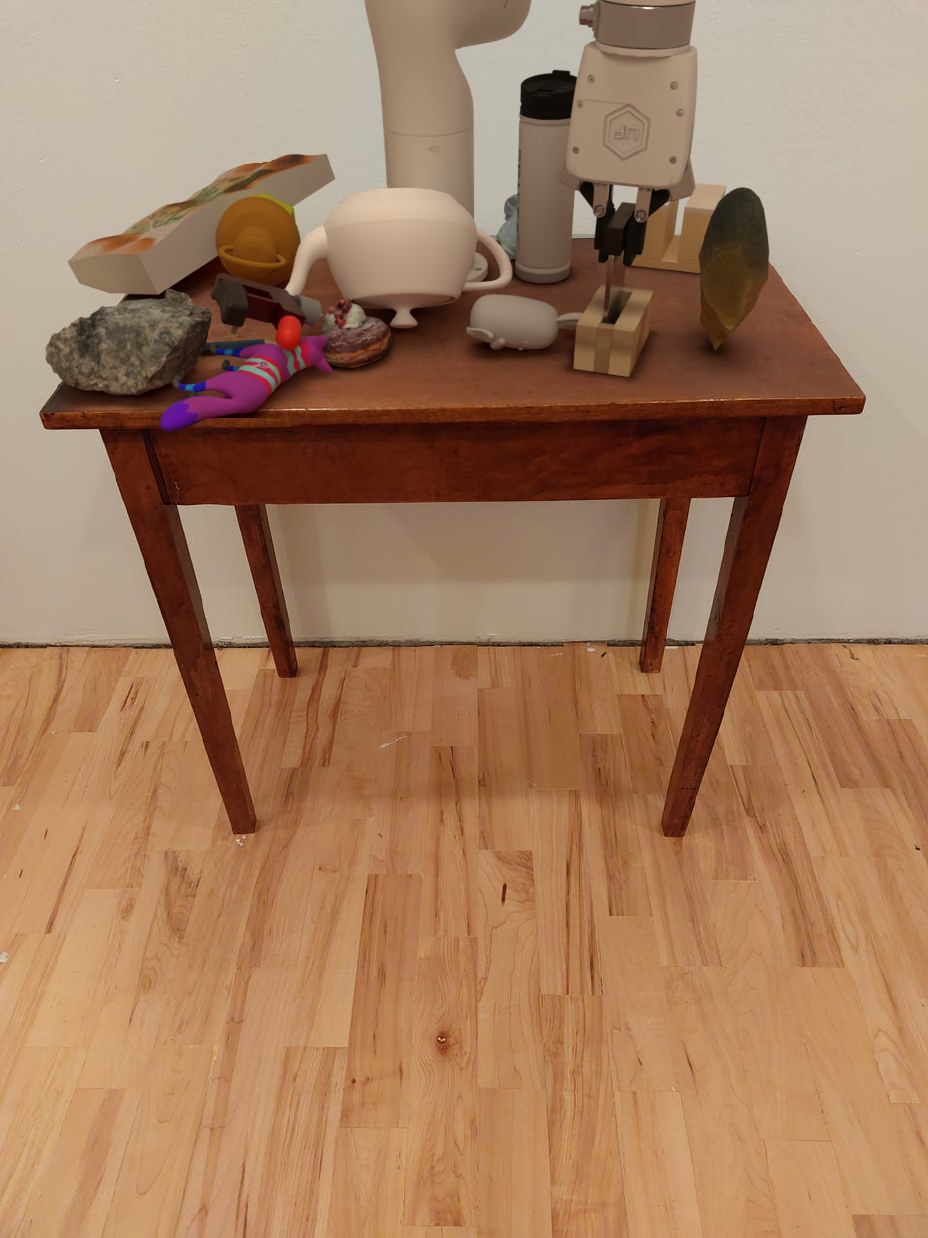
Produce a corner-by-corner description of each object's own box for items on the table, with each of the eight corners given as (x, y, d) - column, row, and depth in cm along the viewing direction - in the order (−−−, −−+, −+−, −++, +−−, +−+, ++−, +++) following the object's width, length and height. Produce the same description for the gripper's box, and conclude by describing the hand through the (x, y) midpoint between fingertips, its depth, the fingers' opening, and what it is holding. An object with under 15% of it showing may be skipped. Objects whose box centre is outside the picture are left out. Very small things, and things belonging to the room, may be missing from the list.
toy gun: (322, 295, 89) (304, 339, 92) (205, 262, 81) (189, 311, 84) (362, 348, 84) (341, 393, 86) (241, 318, 76) (222, 368, 78)
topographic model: (158, 294, 98) (135, 248, 95) (85, 292, 106) (61, 250, 103) (335, 178, 113) (320, 135, 110) (258, 185, 121) (242, 145, 118)
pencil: (130, 354, 91) (283, 345, 92) (128, 358, 90) (282, 349, 91) (127, 346, 90) (281, 336, 91) (126, 350, 89) (281, 340, 91)
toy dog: (248, 346, 91) (343, 359, 89) (150, 444, 79) (257, 463, 77) (241, 310, 89) (339, 323, 86) (138, 406, 76) (248, 425, 74)
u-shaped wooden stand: (631, 265, 108) (638, 201, 103) (645, 240, 114) (653, 178, 109) (705, 274, 105) (715, 209, 101) (716, 247, 112) (726, 185, 107)
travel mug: (578, 267, 107) (591, 71, 94) (558, 287, 103) (569, 84, 90) (528, 259, 109) (535, 67, 96) (506, 279, 105) (510, 79, 92)
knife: (610, 346, 87) (623, 228, 80) (593, 344, 87) (604, 226, 80) (625, 317, 92) (638, 203, 85) (610, 314, 92) (621, 201, 85)
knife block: (628, 377, 86) (634, 331, 83) (572, 369, 88) (576, 323, 85) (648, 334, 93) (654, 290, 90) (596, 327, 95) (600, 283, 92)
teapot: (534, 180, 86) (537, 317, 89) (488, 217, 101) (492, 333, 103) (263, 173, 80) (275, 320, 83) (256, 214, 95) (266, 337, 97)
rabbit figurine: (469, 329, 86) (593, 347, 87) (473, 278, 87) (597, 297, 88) (460, 357, 92) (577, 374, 93) (465, 309, 93) (580, 326, 94)
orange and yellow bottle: (226, 248, 114) (202, 303, 94) (231, 169, 109) (207, 208, 89) (299, 262, 116) (292, 318, 95) (308, 185, 111) (301, 227, 91)
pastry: (322, 334, 94) (317, 285, 90) (396, 334, 94) (393, 285, 90) (310, 370, 88) (303, 319, 84) (388, 370, 88) (385, 319, 84)
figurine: (570, 210, 115) (561, 164, 110) (560, 281, 110) (550, 237, 105) (510, 218, 118) (497, 173, 112) (498, 287, 113) (484, 244, 107)
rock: (28, 269, 78) (78, 281, 88) (30, 387, 81) (78, 387, 91) (192, 286, 79) (224, 297, 88) (188, 404, 81) (220, 402, 91)
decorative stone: (674, 330, 94) (697, 173, 84) (732, 328, 94) (762, 171, 84) (699, 374, 87) (728, 207, 77) (762, 371, 87) (799, 205, 77)
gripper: (535, 28, 72) (524, 263, 84) (739, 42, 68) (696, 286, 81) (560, 12, 77) (546, 235, 90) (750, 24, 73) (708, 256, 86)
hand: (617, 258), depth 85 cm, fingers closed on knife, 1 cm apart
